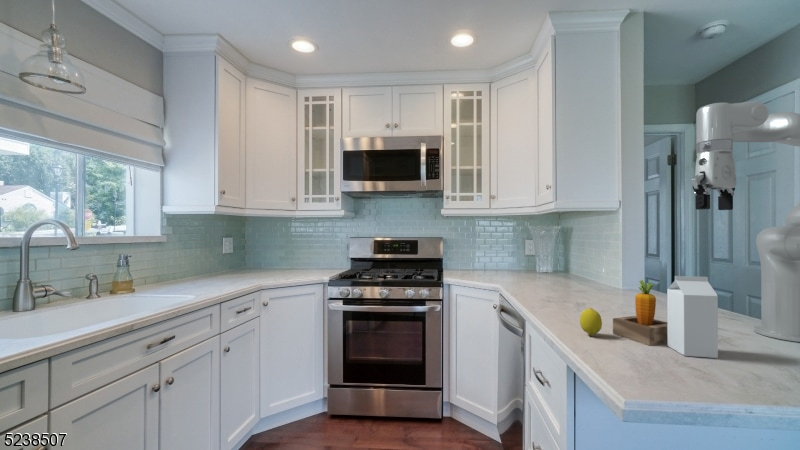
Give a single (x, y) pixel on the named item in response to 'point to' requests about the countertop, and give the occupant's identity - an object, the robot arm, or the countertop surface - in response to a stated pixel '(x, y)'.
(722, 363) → the countertop surface
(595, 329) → the lemon
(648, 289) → the carrot
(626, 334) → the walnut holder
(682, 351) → the milk carton
